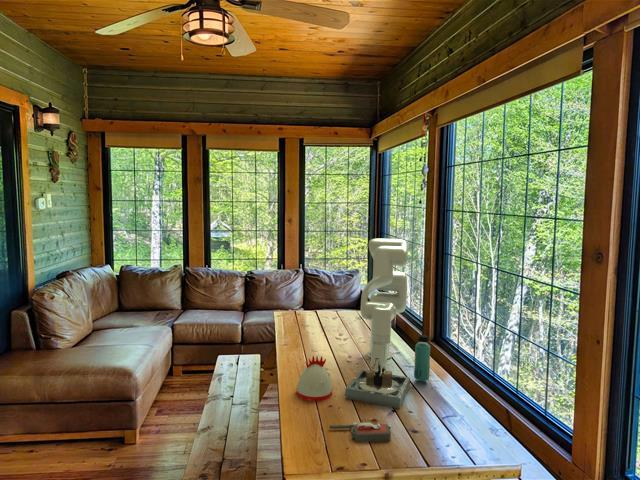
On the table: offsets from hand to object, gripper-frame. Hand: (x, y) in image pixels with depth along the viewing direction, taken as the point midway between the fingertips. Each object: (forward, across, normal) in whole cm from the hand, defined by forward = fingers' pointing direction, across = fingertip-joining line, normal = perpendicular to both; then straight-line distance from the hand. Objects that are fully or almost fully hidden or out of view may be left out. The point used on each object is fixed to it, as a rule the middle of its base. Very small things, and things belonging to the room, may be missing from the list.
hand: (379, 382), depth 174 cm
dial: (+2, 0, 0) cm, 2 cm away
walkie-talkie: (+5, +34, +2) cm, 34 cm away
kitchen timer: (+4, +11, -23) cm, 26 cm away
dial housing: (+4, 0, 0) cm, 4 cm away
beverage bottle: (+4, -18, +14) cm, 23 cm away
